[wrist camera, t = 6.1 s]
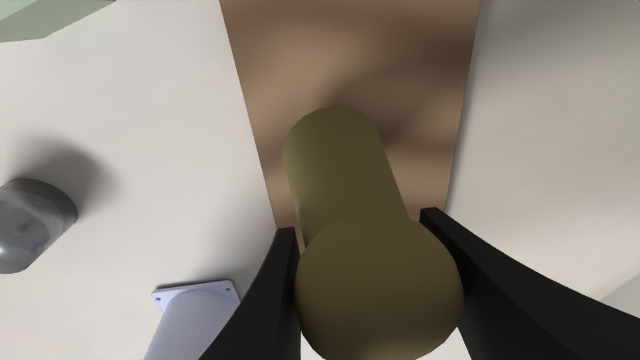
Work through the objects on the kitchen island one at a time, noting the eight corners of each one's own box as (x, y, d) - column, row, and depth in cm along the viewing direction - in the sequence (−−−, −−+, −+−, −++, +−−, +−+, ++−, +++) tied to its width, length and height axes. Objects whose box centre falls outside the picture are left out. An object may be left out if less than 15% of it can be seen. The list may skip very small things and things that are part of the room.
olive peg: (260, 146, 16) (226, 350, 6) (350, 83, 14) (468, 230, 5) (319, 210, 19) (351, 409, 10) (397, 163, 17) (524, 345, 8)
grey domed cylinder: (90, 225, 23) (48, 268, 19) (30, 233, 23) (-24, 278, 19) (52, 174, 20) (-5, 212, 16) (-16, 183, 20) (-89, 223, 16)
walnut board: (431, 236, 26) (438, 247, 25) (287, 255, 26) (287, 268, 25) (475, -63, 15) (492, -70, 13) (217, -30, 15) (210, -34, 13)
